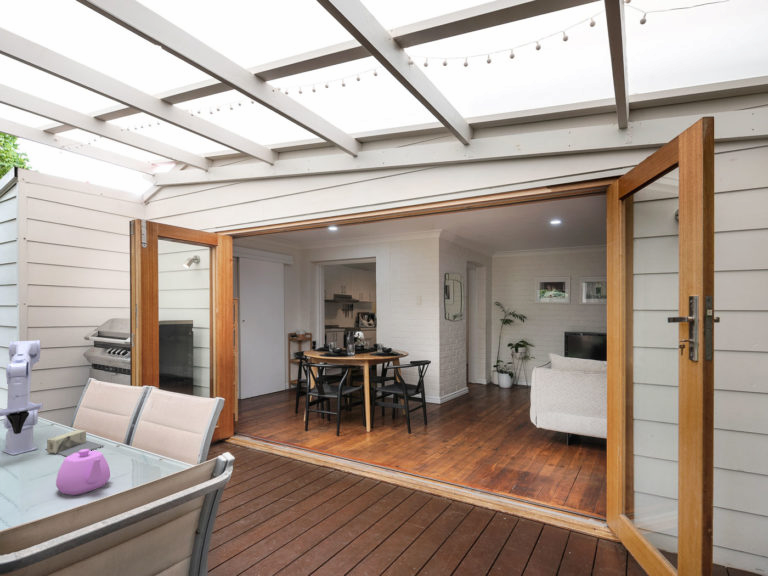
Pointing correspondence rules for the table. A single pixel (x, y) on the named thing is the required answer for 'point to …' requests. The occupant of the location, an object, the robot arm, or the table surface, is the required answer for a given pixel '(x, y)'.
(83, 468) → the teapot
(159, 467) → the table surface
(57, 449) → the box
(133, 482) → the table surface
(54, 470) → the table surface
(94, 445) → the mat
